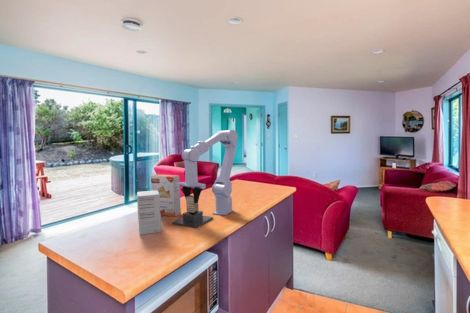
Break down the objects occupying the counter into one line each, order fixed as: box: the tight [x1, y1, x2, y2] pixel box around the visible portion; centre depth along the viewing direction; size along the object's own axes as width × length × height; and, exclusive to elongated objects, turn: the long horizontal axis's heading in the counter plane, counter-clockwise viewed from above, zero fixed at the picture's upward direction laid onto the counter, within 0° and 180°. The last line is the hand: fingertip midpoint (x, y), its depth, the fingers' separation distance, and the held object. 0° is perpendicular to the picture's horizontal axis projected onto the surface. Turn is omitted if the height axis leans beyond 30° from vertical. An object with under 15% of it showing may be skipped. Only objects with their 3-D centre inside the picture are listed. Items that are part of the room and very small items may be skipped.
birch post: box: [185, 194, 199, 213], centre depth 127 cm, size 4×4×7 cm
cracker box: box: [150, 174, 182, 217], centre depth 139 cm, size 14×6×21 cm, turn 69°
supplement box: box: [136, 190, 162, 236], centre depth 117 cm, size 10×9×17 cm
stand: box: [171, 210, 214, 229], centre depth 127 cm, size 14×14×5 cm
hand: (192, 202), depth 127 cm, fingers closed on birch post, 4 cm apart
